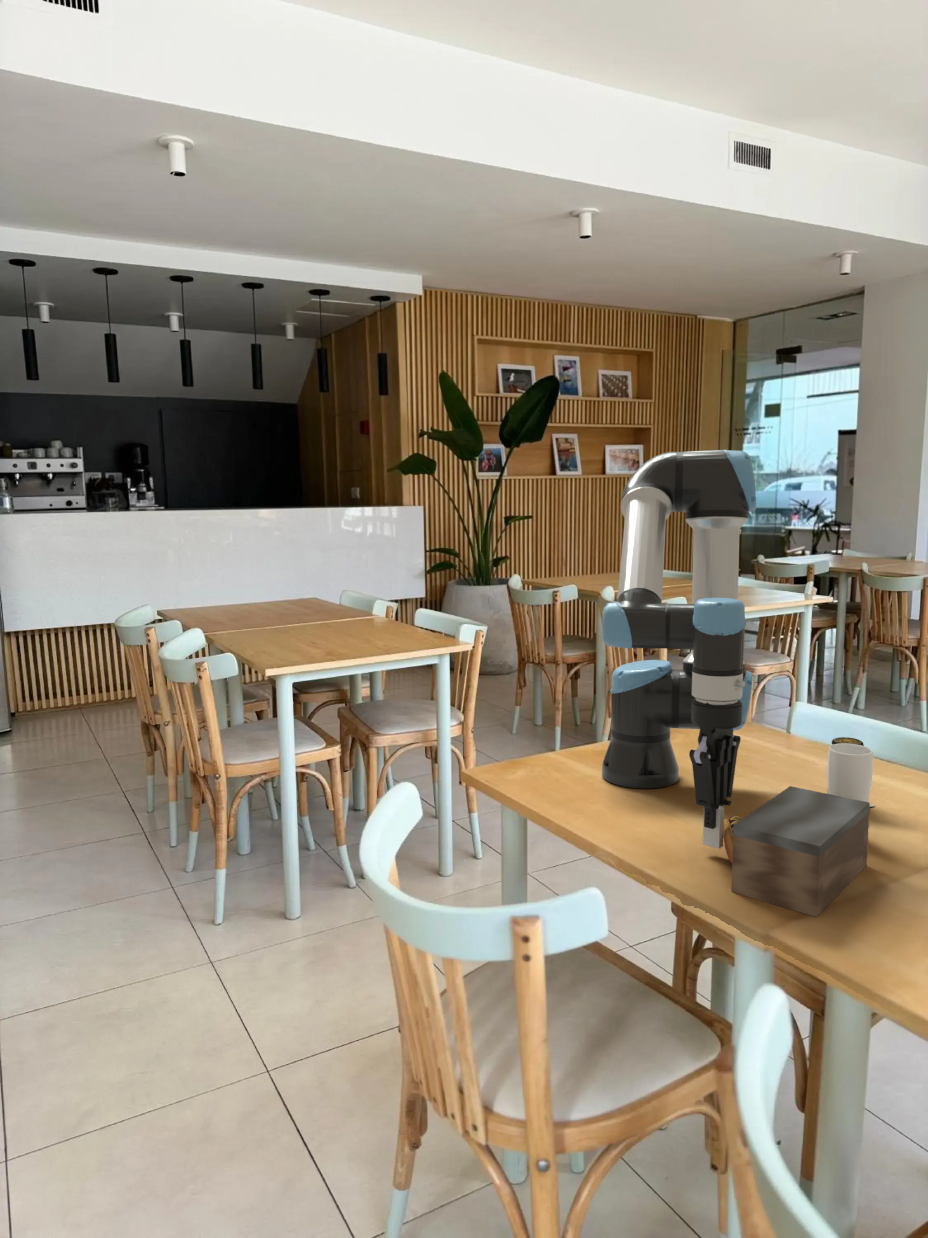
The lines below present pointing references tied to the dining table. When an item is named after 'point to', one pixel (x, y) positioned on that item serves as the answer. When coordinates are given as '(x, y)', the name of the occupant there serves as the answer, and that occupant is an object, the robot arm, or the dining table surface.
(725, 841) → the hot dog
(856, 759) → the white tapered cylinder
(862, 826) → the gray-topped wooden box
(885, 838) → the dining table surface
